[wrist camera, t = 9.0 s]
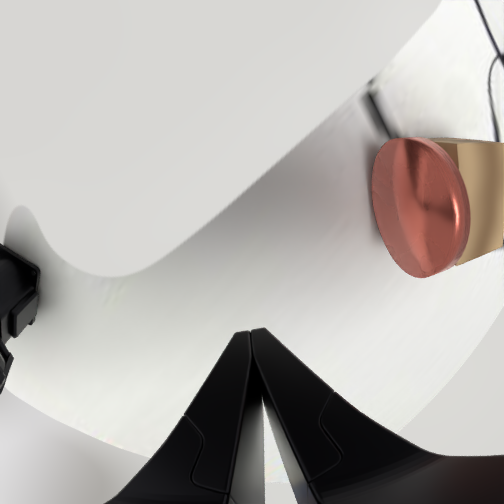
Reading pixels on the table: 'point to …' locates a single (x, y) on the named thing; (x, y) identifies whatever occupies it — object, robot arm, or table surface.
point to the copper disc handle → (420, 205)
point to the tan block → (480, 191)
